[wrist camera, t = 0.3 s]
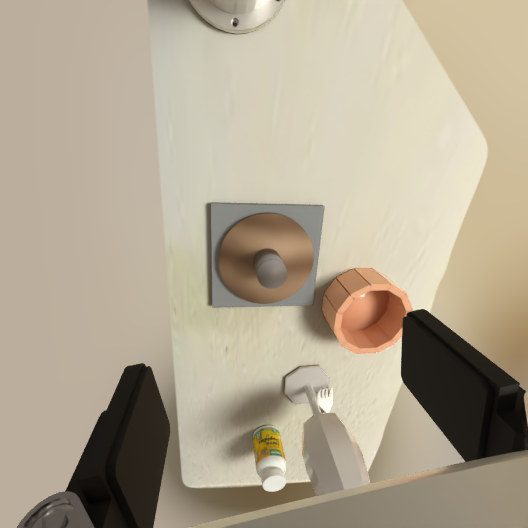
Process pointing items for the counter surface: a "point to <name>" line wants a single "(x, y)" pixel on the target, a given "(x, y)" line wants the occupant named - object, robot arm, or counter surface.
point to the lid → (266, 258)
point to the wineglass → (325, 437)
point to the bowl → (365, 310)
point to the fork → (325, 399)
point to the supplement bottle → (269, 457)
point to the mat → (232, 213)
